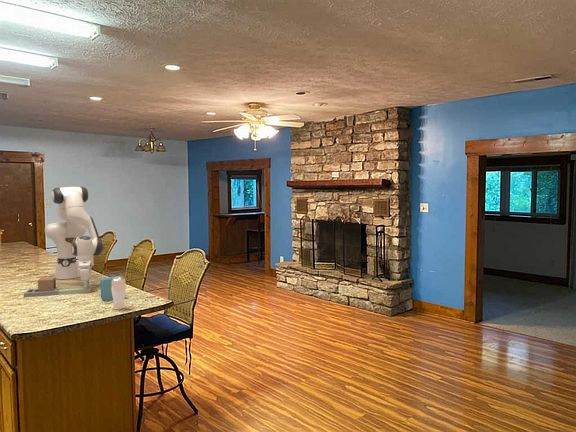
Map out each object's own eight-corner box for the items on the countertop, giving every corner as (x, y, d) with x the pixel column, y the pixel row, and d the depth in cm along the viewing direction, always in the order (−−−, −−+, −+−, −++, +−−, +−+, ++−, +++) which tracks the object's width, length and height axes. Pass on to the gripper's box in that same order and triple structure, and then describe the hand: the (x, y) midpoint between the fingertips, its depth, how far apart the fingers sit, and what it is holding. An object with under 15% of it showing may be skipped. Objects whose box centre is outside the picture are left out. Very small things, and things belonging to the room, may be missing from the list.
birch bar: (57, 288, 270) (57, 281, 269) (86, 286, 274) (86, 279, 274) (56, 289, 266) (56, 283, 265) (86, 287, 271) (85, 281, 270)
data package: (122, 296, 256) (122, 275, 255) (125, 298, 252) (124, 277, 252) (100, 299, 249) (100, 278, 248) (103, 301, 245) (102, 279, 244)
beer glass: (128, 306, 234) (127, 277, 234) (123, 309, 227) (122, 280, 227) (114, 306, 234) (113, 277, 233) (109, 309, 227) (108, 280, 226)
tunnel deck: (29, 292, 269) (28, 277, 268) (92, 287, 280) (91, 274, 279) (23, 297, 256) (23, 282, 256) (90, 292, 267) (89, 277, 267)
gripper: (82, 260, 281) (83, 282, 281) (78, 266, 261) (78, 289, 262) (93, 260, 283) (93, 281, 283) (89, 265, 263) (90, 288, 264)
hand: (86, 285), depth 273 cm, fingers open, 8 cm apart
